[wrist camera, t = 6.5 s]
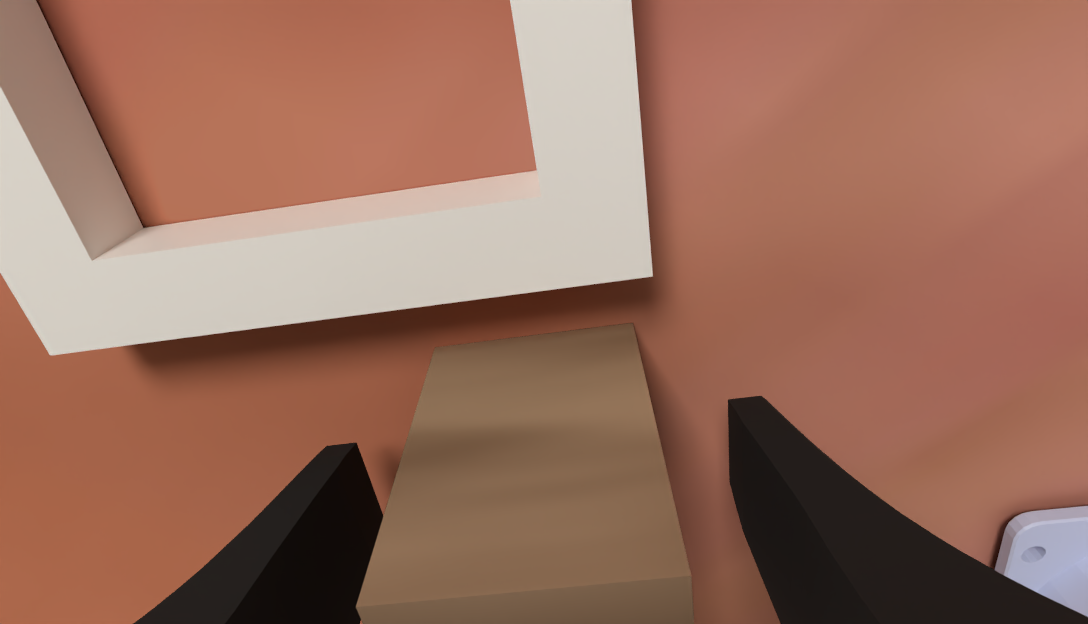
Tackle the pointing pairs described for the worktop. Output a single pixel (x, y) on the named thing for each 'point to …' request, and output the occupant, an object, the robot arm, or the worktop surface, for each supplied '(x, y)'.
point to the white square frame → (322, 207)
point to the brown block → (532, 492)
